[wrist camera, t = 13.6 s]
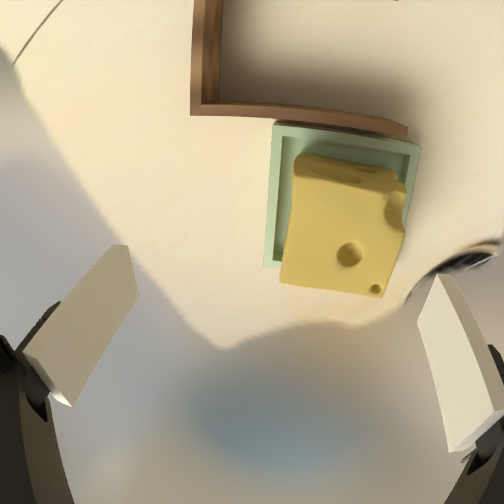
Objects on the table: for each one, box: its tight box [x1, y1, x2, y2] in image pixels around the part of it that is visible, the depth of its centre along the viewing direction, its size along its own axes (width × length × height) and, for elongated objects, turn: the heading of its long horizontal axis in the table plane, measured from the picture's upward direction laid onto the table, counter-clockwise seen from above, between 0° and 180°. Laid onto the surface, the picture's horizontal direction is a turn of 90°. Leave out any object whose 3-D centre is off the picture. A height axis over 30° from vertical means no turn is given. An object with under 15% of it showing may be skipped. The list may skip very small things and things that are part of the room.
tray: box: [263, 123, 421, 269], centre depth 32 cm, size 16×15×2 cm
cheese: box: [280, 152, 407, 299], centre depth 28 cm, size 10×11×10 cm
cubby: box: [190, 0, 408, 138], centre depth 22 cm, size 16×19×6 cm
